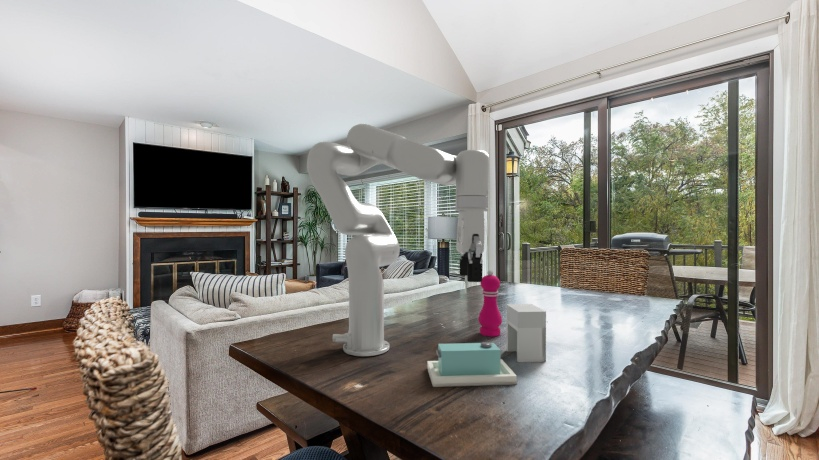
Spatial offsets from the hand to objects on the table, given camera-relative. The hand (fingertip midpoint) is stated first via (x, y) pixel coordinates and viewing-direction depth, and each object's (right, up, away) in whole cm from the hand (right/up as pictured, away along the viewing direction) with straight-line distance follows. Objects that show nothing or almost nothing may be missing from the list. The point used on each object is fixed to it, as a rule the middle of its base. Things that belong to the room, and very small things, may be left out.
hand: (470, 278), depth 86 cm
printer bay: (+16, -22, +10) cm, 29 cm away
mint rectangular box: (-1, -21, -3) cm, 21 cm away
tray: (-1, -22, -3) cm, 22 cm away
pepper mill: (+11, -22, +30) cm, 39 cm away
